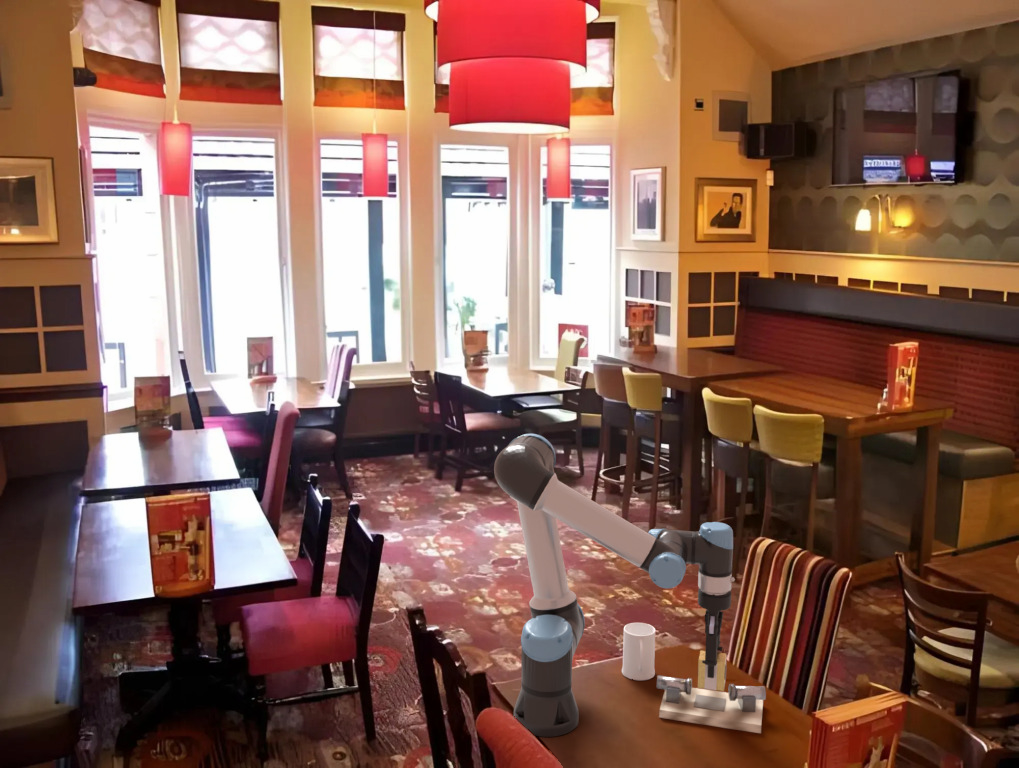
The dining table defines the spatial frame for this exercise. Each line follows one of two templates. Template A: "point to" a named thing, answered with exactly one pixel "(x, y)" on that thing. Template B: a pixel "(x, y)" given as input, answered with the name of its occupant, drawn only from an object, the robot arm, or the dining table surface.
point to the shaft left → (674, 687)
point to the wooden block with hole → (720, 670)
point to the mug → (638, 651)
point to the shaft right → (746, 696)
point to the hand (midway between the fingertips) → (711, 682)
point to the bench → (712, 710)
